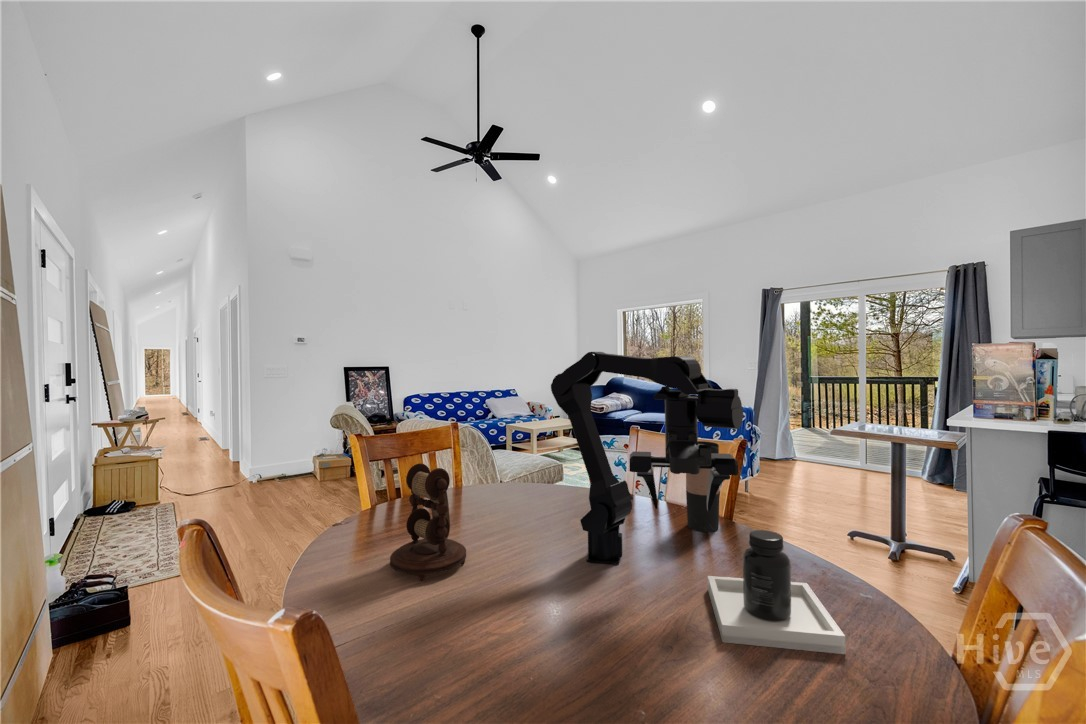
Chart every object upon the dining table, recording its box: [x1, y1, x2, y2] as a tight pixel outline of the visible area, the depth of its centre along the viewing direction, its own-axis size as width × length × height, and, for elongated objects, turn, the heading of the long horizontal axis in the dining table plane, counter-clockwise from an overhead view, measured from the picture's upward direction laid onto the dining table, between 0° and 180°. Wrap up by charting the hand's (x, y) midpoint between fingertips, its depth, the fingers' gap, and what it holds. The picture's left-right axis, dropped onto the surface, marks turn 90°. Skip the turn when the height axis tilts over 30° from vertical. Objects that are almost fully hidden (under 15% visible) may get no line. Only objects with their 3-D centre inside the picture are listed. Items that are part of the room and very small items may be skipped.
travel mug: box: [685, 440, 720, 533], centre depth 117 cm, size 8×8×20 cm
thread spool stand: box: [389, 463, 467, 582], centre depth 97 cm, size 15×15×20 cm
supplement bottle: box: [742, 529, 792, 621], centre depth 76 cm, size 7×7×12 cm
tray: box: [707, 575, 846, 655], centre depth 76 cm, size 16×16×2 cm
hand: (682, 509), depth 89 cm, fingers open, 9 cm apart
